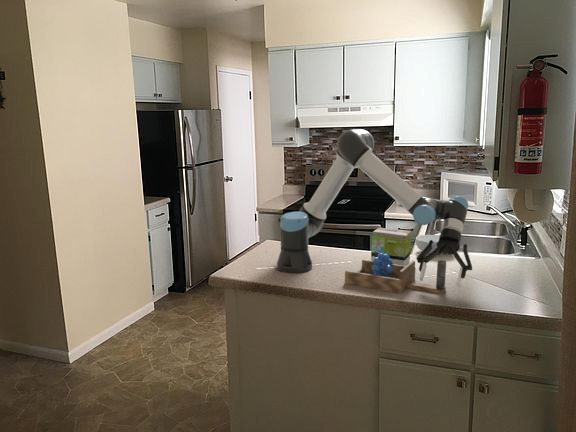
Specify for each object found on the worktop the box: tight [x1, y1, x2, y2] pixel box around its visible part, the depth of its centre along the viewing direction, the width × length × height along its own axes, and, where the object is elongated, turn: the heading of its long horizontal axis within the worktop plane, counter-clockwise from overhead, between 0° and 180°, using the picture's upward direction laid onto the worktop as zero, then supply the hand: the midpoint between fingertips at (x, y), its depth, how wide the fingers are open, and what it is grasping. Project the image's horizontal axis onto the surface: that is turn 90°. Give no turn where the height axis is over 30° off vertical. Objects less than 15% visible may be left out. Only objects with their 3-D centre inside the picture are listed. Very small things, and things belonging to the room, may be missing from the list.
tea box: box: [370, 227, 412, 266], centre depth 214 cm, size 15×10×15 cm, turn 62°
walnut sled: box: [344, 259, 447, 295], centre depth 186 cm, size 36×18×12 cm, turn 59°
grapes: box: [372, 253, 393, 278], centre depth 189 cm, size 12×7×12 cm, turn 130°
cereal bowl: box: [415, 234, 442, 256], centre depth 231 cm, size 17×17×7 cm
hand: (439, 282), depth 176 cm, fingers open, 12 cm apart
